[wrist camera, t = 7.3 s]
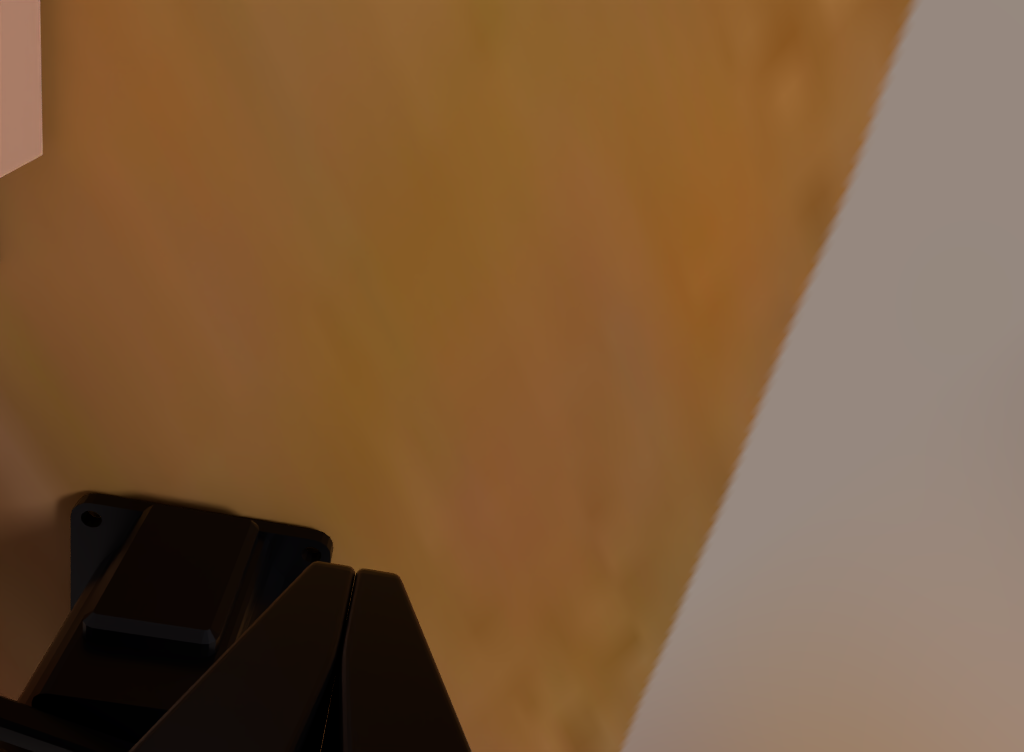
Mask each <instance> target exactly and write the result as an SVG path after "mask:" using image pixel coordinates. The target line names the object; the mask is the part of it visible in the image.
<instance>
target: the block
mask: <svg viewBox="0 0 1024 752" xmlns="http://www.w3.org/2000/svg"><path fill="white" fill-rule="evenodd" d="M41 155H43V145H42V84H41V23H40V0H0V178H1V177H3V176H4V175H6V174H8V173H10V172H12V171H14V170H16V169H17V168H19V167H21V166H23V165H25V164H27V163H28V162H30V161H32V160H34V159H36V158H38V157H40V156H41Z"/></svg>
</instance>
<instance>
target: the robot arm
mask: <svg viewBox="0 0 1024 752" xmlns="http://www.w3.org/2000/svg"><path fill="white" fill-rule="evenodd" d="M88 511H93V512H96V513H98V514H99V515H100V516H101V517H100V518H97V517H95V516H92V515H91V514H90V513H89V512H88ZM307 547H313V548H316V549H318V550H319V551H320V552H318V553H312V552H310V551H308V550H307V549H306V548H307ZM332 552H333V542H332V540H331V539H330V537H329V536H328V535H326V534H325V533H323V532H320V531H317V530H312V529H306V528H300V527H294V526H288V525H282V524H276V523H270V522H264V521H258V520H252V519H246V518H240V517H234V516H228V515H222V514H216V513H210V512H204V511H198V510H192V509H186V508H180V507H174V506H168V505H162V504H156V503H150V502H144V501H138V500H132V499H126V498H120V497H114V496H108V495H102V494H88V495H85V496H83V497H82V498H81V499H80V500H79V501H78V502H77V504H76V505H75V507H74V508H73V510H72V513H71V612H70V614H69V615H68V617H67V619H66V621H65V622H64V624H63V626H62V627H61V629H60V631H59V632H58V634H57V636H56V637H55V639H54V641H53V642H52V644H51V646H50V647H49V649H48V651H47V652H46V654H45V656H44V657H43V659H42V661H41V662H40V664H39V666H38V667H37V669H36V671H35V672H34V674H33V676H32V677H31V679H30V681H29V682H28V684H27V686H26V688H25V689H24V691H23V693H22V694H21V696H20V698H19V699H18V701H14V700H12V699H9V698H6V697H3V696H0V752H320V751H321V752H471V749H470V747H469V744H468V742H467V739H466V737H465V734H464V732H463V730H462V727H461V725H460V722H459V720H458V717H457V715H456V712H455V710H454V708H453V705H452V703H451V700H450V698H449V695H448V693H447V690H446V688H445V685H444V683H443V681H442V678H441V676H440V673H439V671H438V668H437V666H436V663H435V661H434V659H433V656H432V654H431V651H430V649H429V646H428V644H427V641H426V639H425V636H424V634H423V632H422V629H421V627H420V624H419V622H418V619H417V617H416V614H415V612H414V610H413V607H412V605H411V602H410V600H409V597H408V595H407V592H406V590H405V587H404V585H403V583H402V581H401V579H400V577H399V576H398V575H396V574H394V573H389V572H382V571H376V570H370V569H360V570H359V571H358V572H357V573H356V575H355V571H354V569H353V568H352V567H350V566H346V565H339V564H333V563H331V558H332ZM354 578H355V580H354ZM353 583H354V585H353ZM352 588H353V590H352ZM351 593H352V595H351ZM350 598H351V600H350ZM349 603H350V605H349ZM348 609H349V610H348ZM347 614H348V615H347ZM346 619H347V620H346ZM345 624H346V625H345ZM333 685H334V686H333ZM332 690H333V691H332ZM331 695H332V696H331ZM330 700H331V701H330ZM329 705H330V706H329ZM328 710H329V711H328ZM327 715H328V717H327ZM326 720H327V722H326ZM325 725H326V727H325ZM324 730H325V732H324ZM323 735H324V737H323ZM322 740H323V743H322ZM321 745H322V748H321Z"/></svg>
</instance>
